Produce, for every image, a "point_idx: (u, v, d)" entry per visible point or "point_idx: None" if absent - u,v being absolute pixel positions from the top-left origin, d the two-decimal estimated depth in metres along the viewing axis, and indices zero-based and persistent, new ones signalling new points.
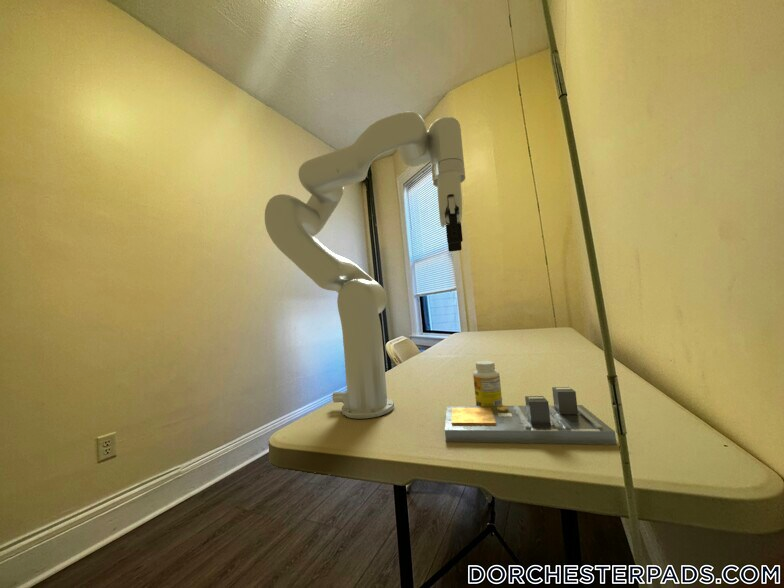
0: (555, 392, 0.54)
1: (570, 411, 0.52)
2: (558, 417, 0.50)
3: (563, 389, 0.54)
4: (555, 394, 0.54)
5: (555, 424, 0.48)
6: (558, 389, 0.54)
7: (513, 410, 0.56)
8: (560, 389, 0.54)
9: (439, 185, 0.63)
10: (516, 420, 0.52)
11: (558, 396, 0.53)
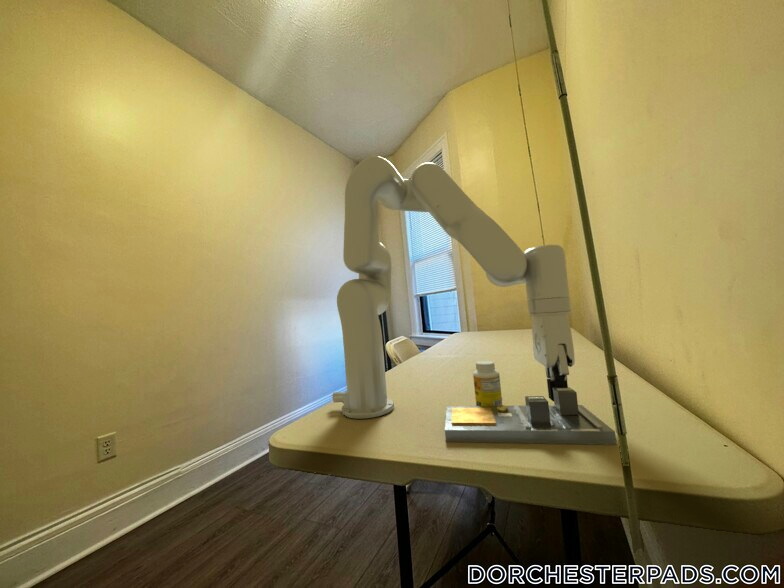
0: (556, 393, 0.54)
1: (571, 412, 0.52)
2: (558, 417, 0.50)
3: (564, 390, 0.53)
4: (556, 395, 0.54)
5: (555, 424, 0.48)
6: (559, 390, 0.54)
7: (513, 410, 0.56)
8: (561, 390, 0.53)
9: (546, 330, 0.54)
10: (516, 420, 0.52)
11: (558, 397, 0.52)
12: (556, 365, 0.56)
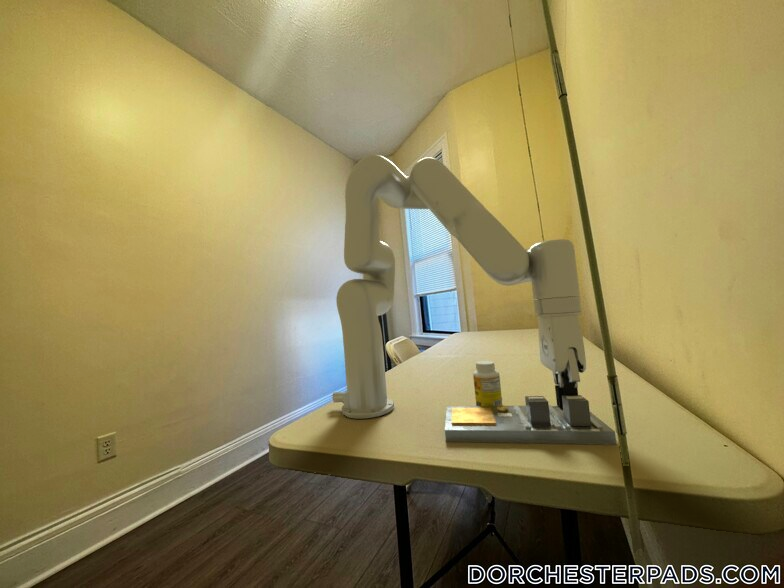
0: (565, 401, 0.49)
1: (582, 422, 0.47)
2: (558, 417, 0.50)
3: (574, 398, 0.49)
4: (565, 403, 0.49)
5: (555, 424, 0.48)
6: (569, 398, 0.49)
7: (513, 410, 0.56)
8: (571, 398, 0.49)
9: (554, 332, 0.49)
10: (516, 420, 0.52)
11: (569, 406, 0.48)
12: (565, 371, 0.51)
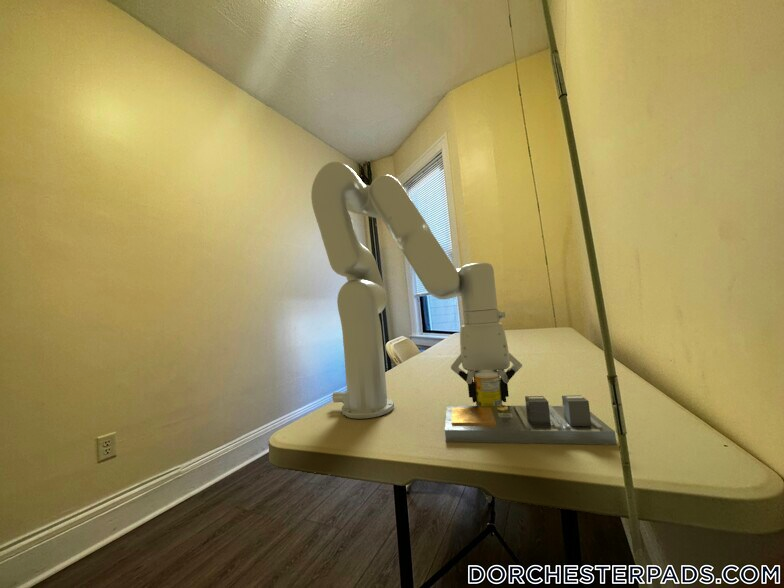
0: (565, 401, 0.49)
1: (582, 423, 0.47)
2: (558, 417, 0.50)
3: (574, 398, 0.49)
4: (565, 403, 0.49)
5: (555, 424, 0.48)
6: (569, 398, 0.49)
7: (513, 410, 0.56)
8: (571, 398, 0.49)
9: None
10: (516, 420, 0.52)
11: (569, 406, 0.48)
12: None
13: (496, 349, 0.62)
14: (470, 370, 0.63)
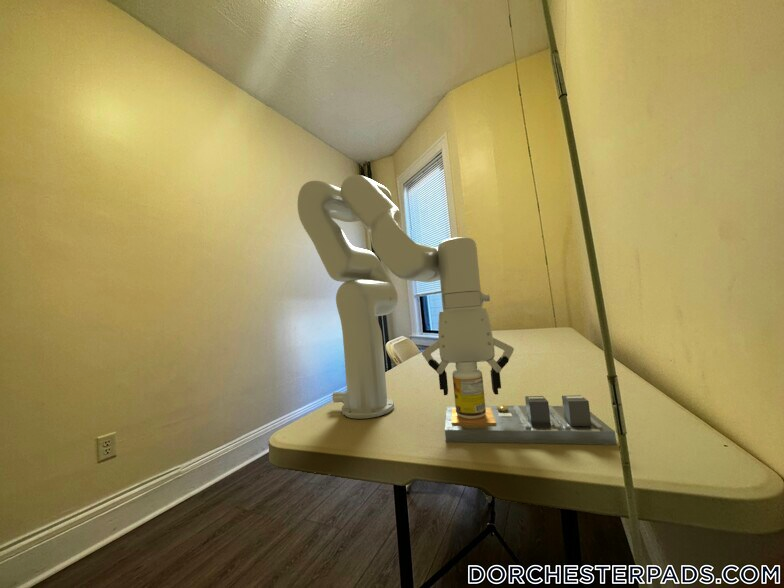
0: (565, 401, 0.49)
1: (582, 423, 0.47)
2: (558, 417, 0.50)
3: (574, 398, 0.49)
4: (565, 403, 0.49)
5: (555, 424, 0.48)
6: (569, 398, 0.49)
7: (513, 410, 0.56)
8: (571, 398, 0.49)
9: None
10: (516, 420, 0.52)
11: (569, 406, 0.48)
12: None
13: (478, 337, 0.53)
14: (449, 362, 0.55)
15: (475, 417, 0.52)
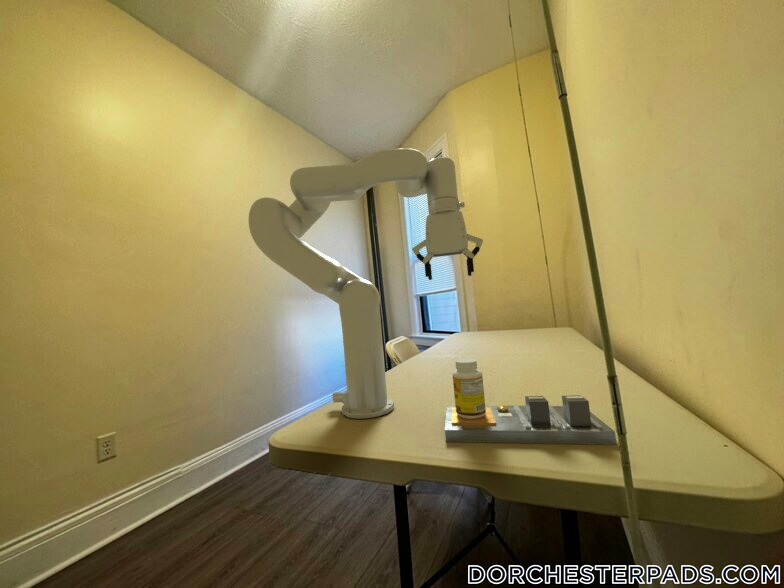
0: (565, 401, 0.49)
1: (582, 423, 0.47)
2: (558, 417, 0.50)
3: (574, 398, 0.49)
4: (565, 403, 0.49)
5: (555, 424, 0.48)
6: (569, 398, 0.49)
7: (513, 410, 0.56)
8: (571, 398, 0.49)
9: None
10: (516, 420, 0.52)
11: (569, 406, 0.48)
12: None
13: (455, 232, 0.69)
14: (433, 253, 0.71)
15: (475, 417, 0.52)
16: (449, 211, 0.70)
